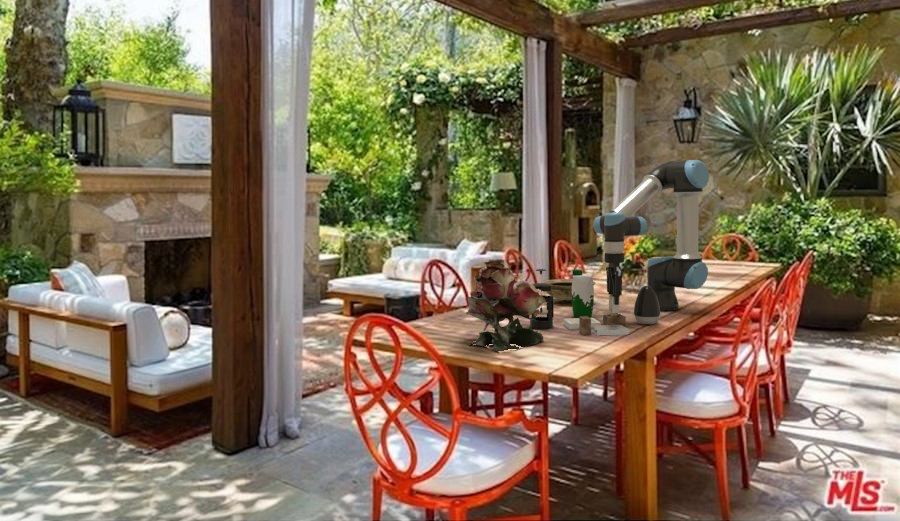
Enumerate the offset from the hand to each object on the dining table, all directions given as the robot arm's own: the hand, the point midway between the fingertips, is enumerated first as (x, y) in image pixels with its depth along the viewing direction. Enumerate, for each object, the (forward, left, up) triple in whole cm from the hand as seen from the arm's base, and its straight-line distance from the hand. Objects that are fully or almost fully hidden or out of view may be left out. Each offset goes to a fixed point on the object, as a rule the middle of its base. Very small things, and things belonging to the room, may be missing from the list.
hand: (614, 311), depth 270 cm
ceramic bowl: (+3, -57, -6) cm, 57 cm away
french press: (+28, -3, -6) cm, 29 cm away
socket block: (0, 0, -6) cm, 6 cm away
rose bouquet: (+48, +20, -6) cm, 53 cm away
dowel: (0, 0, -6) cm, 6 cm away
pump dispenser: (-14, -2, -6) cm, 15 cm away
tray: (+13, 0, -6) cm, 14 cm away
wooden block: (+15, +12, -6) cm, 20 cm away
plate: (+6, +12, -6) cm, 15 cm away
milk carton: (+7, -20, -6) cm, 22 cm away
